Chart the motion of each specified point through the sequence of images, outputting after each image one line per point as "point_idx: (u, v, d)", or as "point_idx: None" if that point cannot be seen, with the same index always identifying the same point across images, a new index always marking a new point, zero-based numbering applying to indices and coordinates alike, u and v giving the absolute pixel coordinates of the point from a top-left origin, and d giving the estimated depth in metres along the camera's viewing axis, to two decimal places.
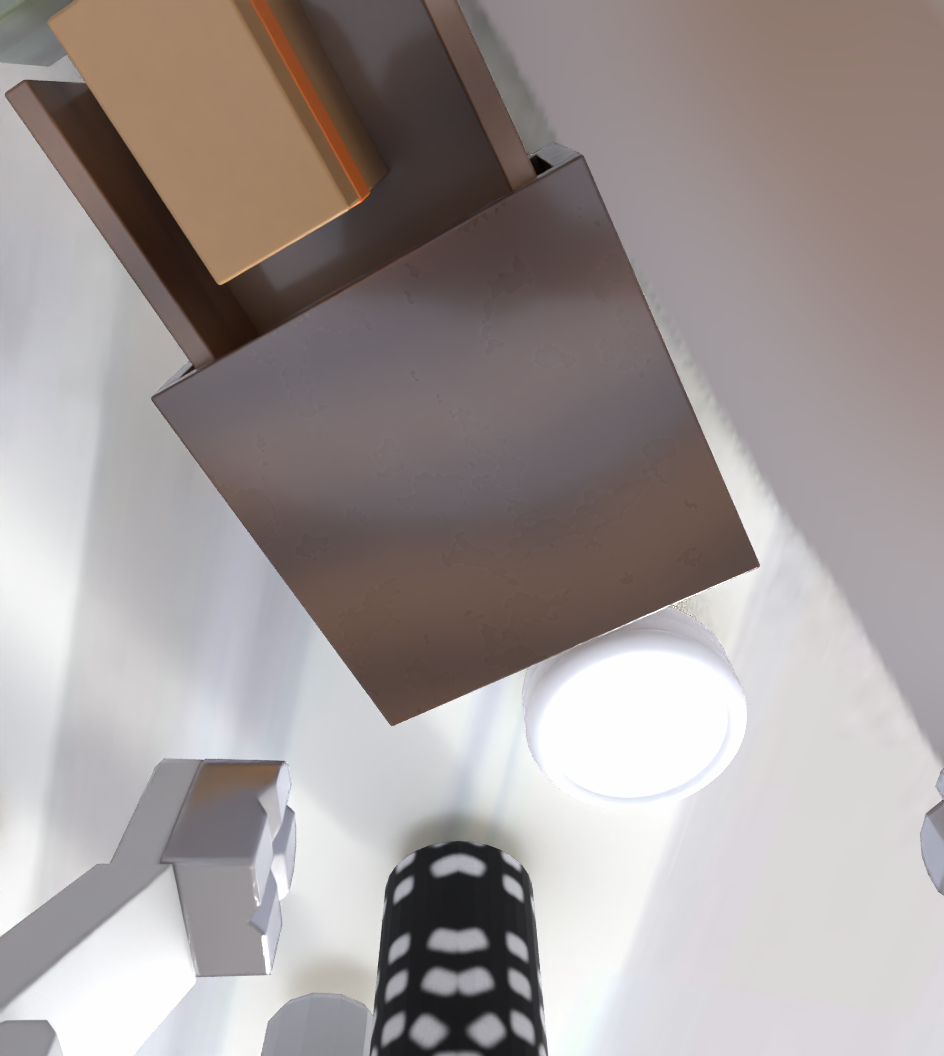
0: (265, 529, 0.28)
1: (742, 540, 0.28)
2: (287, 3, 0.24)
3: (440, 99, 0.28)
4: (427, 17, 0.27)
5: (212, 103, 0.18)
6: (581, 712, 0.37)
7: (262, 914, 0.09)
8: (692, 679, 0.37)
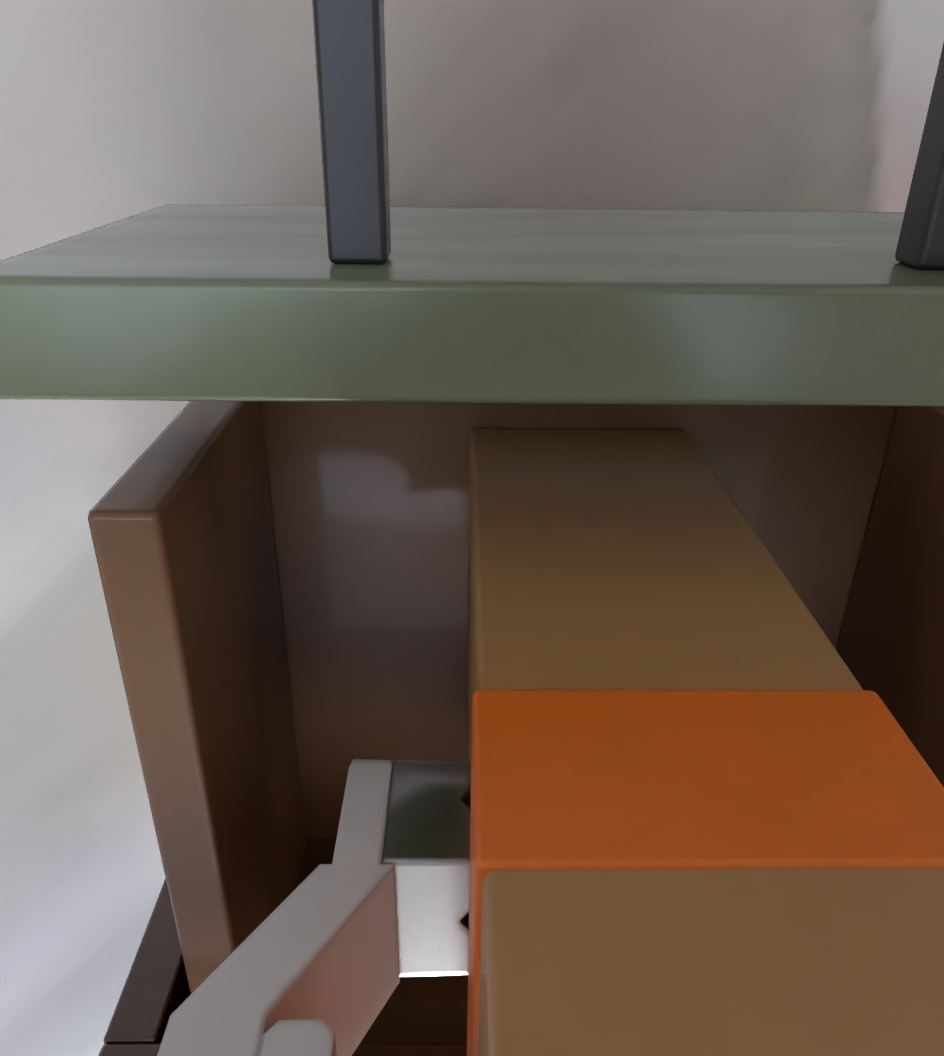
0: None
1: None
2: None
3: None
4: (852, 568, 0.15)
5: None
6: None
7: (468, 914, 0.09)
8: None
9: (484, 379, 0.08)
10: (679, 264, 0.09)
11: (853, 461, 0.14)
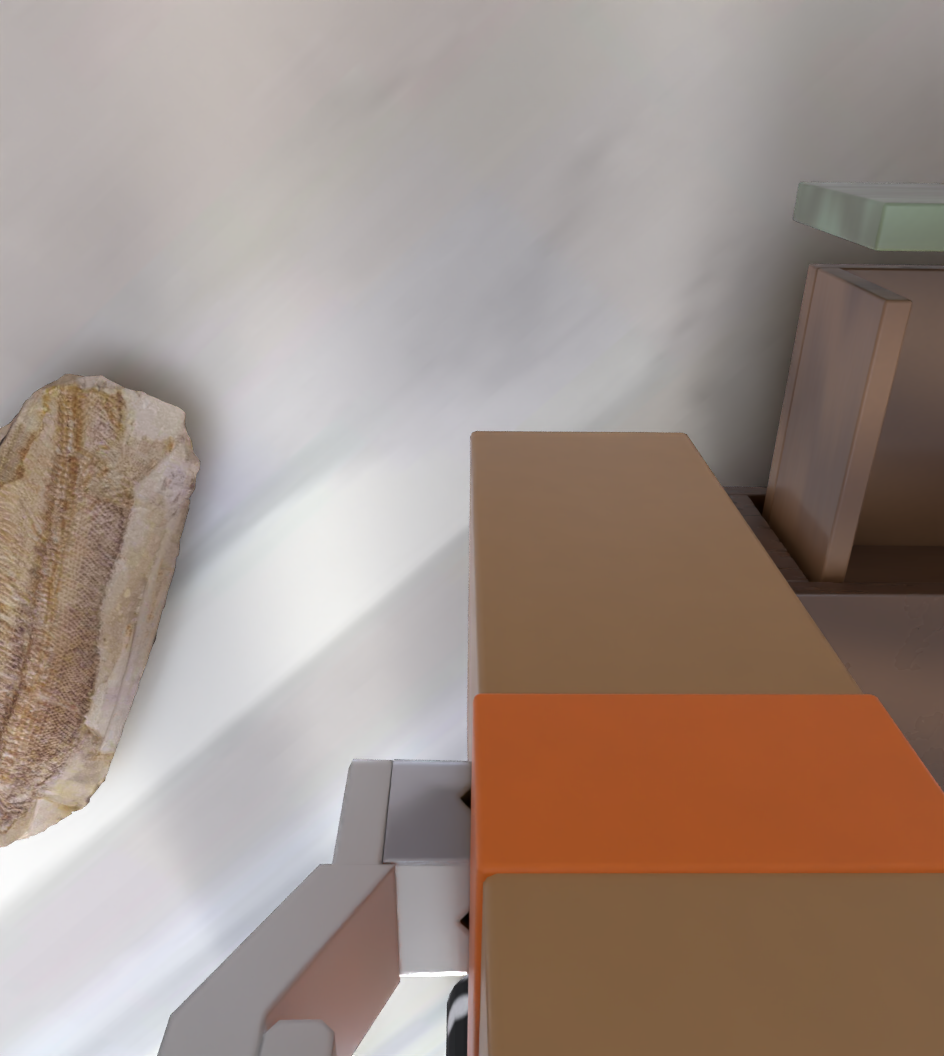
0: None
1: None
2: None
3: None
4: None
5: None
6: None
7: (468, 914, 0.09)
8: None
9: None
10: None
11: None
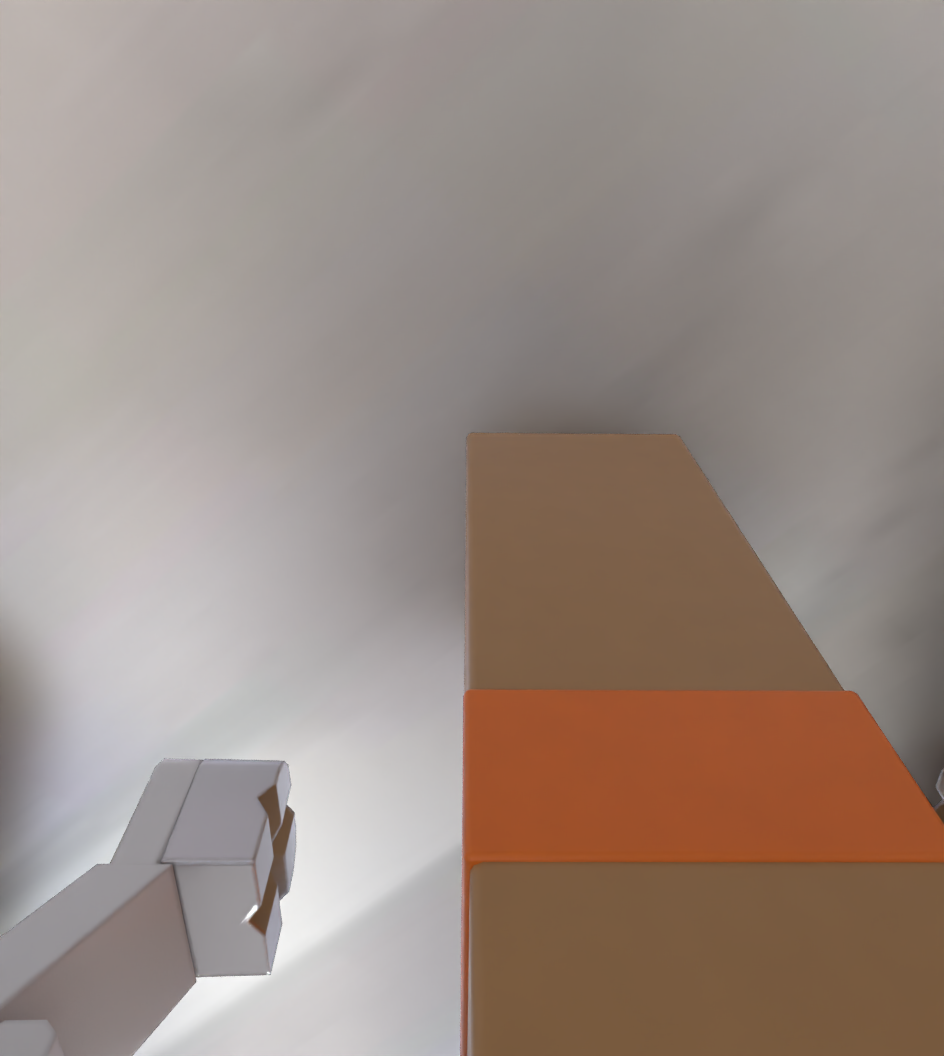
0: None
1: None
2: None
3: None
4: None
5: None
6: None
7: (262, 914, 0.09)
8: None
9: None
10: None
11: None
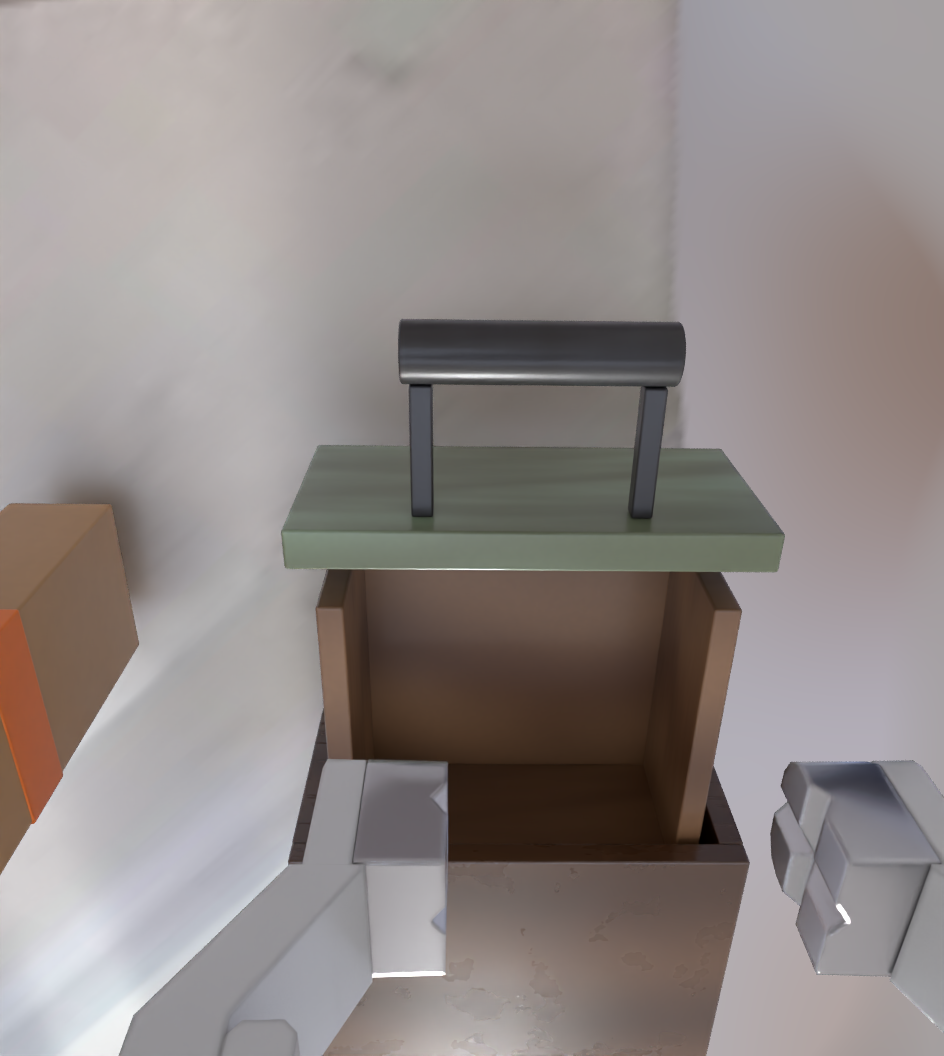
0: None
1: None
2: (83, 560, 0.27)
3: (634, 668, 0.31)
4: (661, 617, 0.30)
5: None
6: None
7: (441, 914, 0.09)
8: None
9: (469, 562, 0.23)
10: (543, 514, 0.23)
11: None
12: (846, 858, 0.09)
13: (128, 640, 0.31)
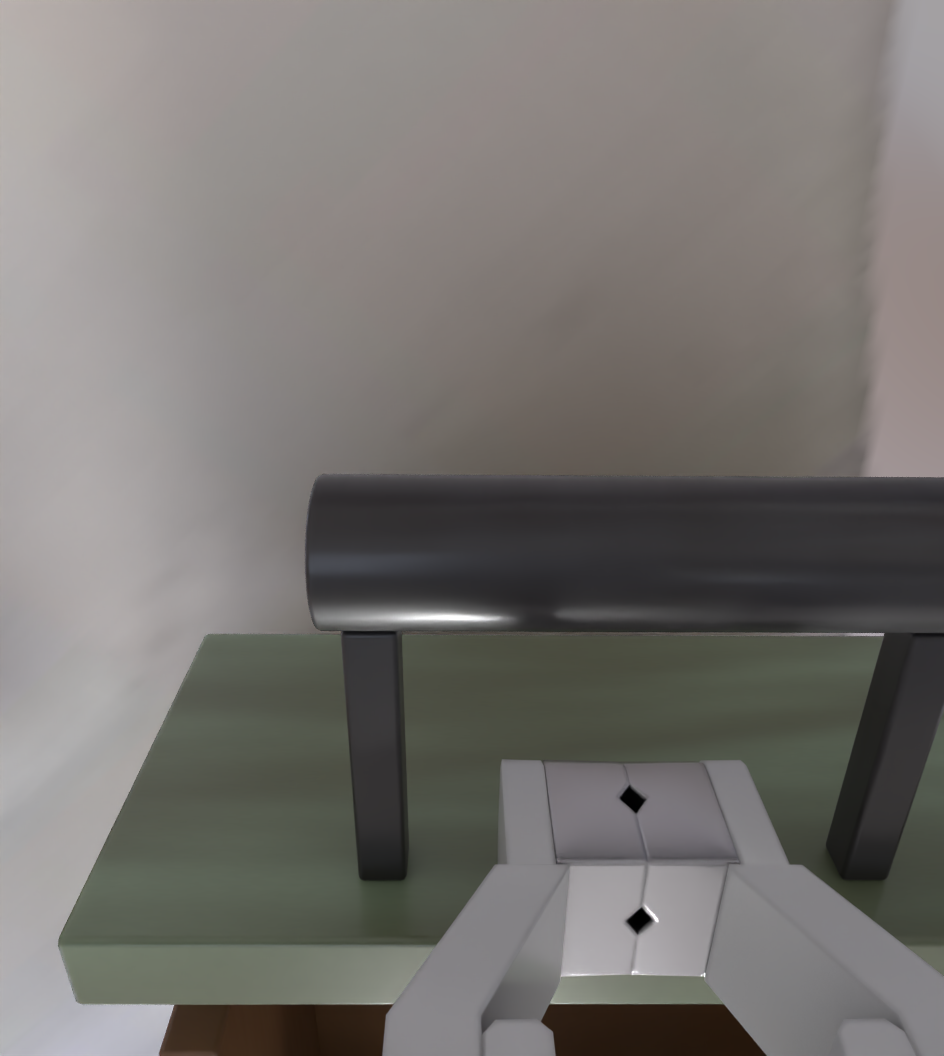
0: None
1: None
2: None
3: None
4: None
5: None
6: None
7: None
8: None
9: None
10: None
11: None
12: (647, 858, 0.09)
13: None
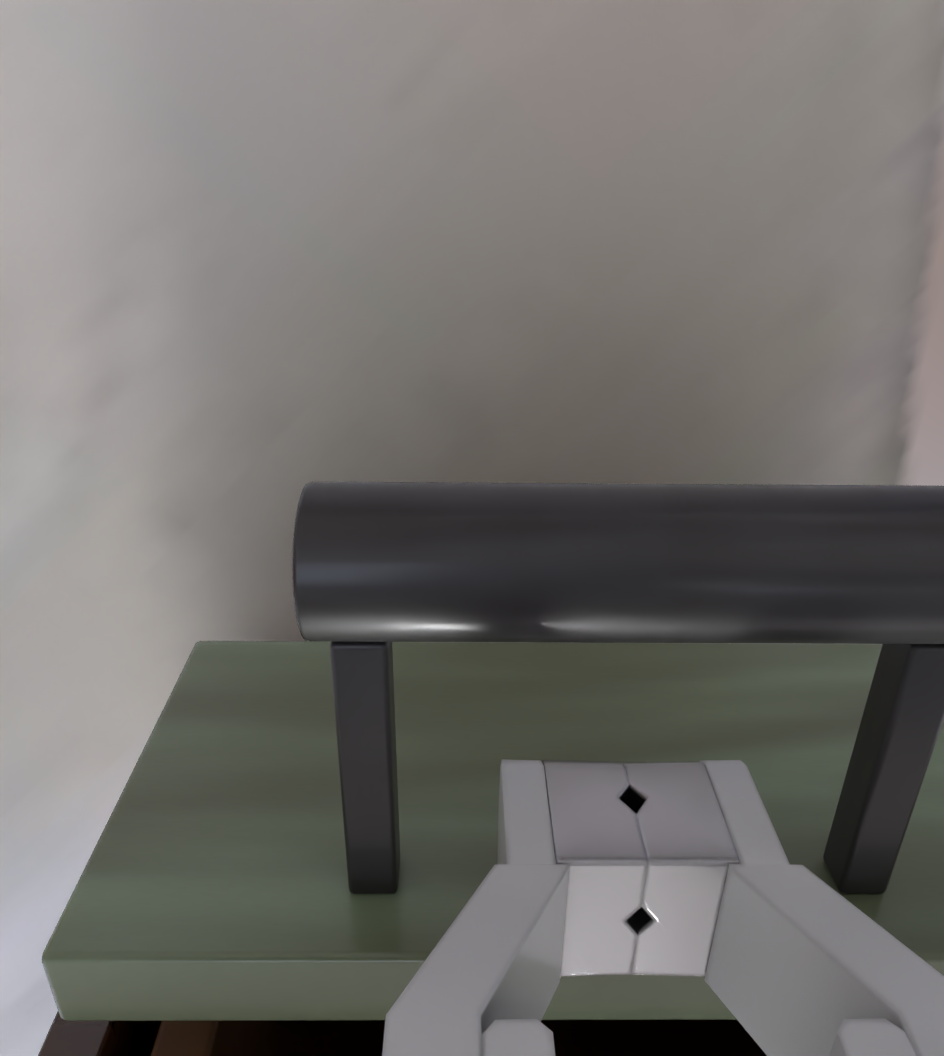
0: None
1: None
2: None
3: None
4: None
5: None
6: None
7: None
8: None
9: None
10: None
11: None
12: (647, 858, 0.09)
13: None
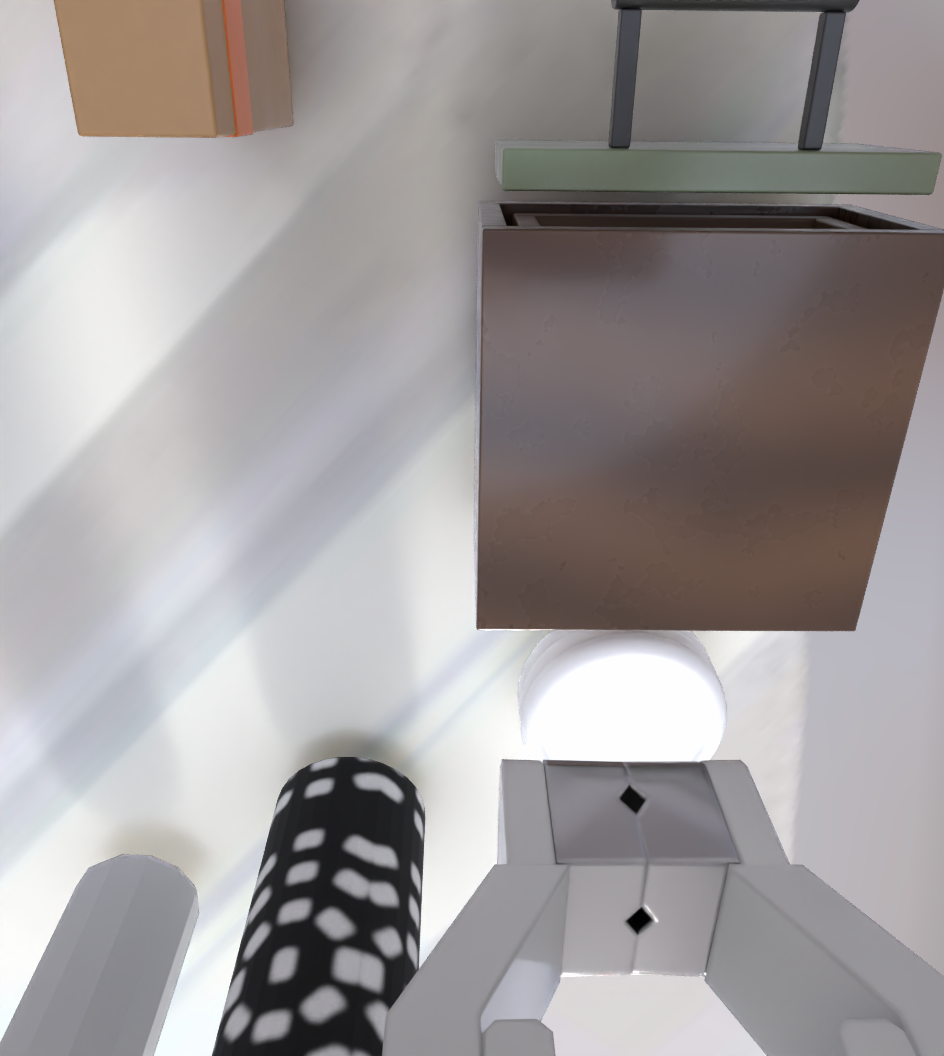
0: (496, 400, 0.28)
1: (857, 603, 0.32)
2: None
3: None
4: None
5: None
6: (591, 691, 0.39)
7: None
8: (695, 702, 0.40)
9: (663, 183, 0.26)
10: (724, 148, 0.26)
11: None
12: (646, 858, 0.09)
13: (287, 102, 0.30)
